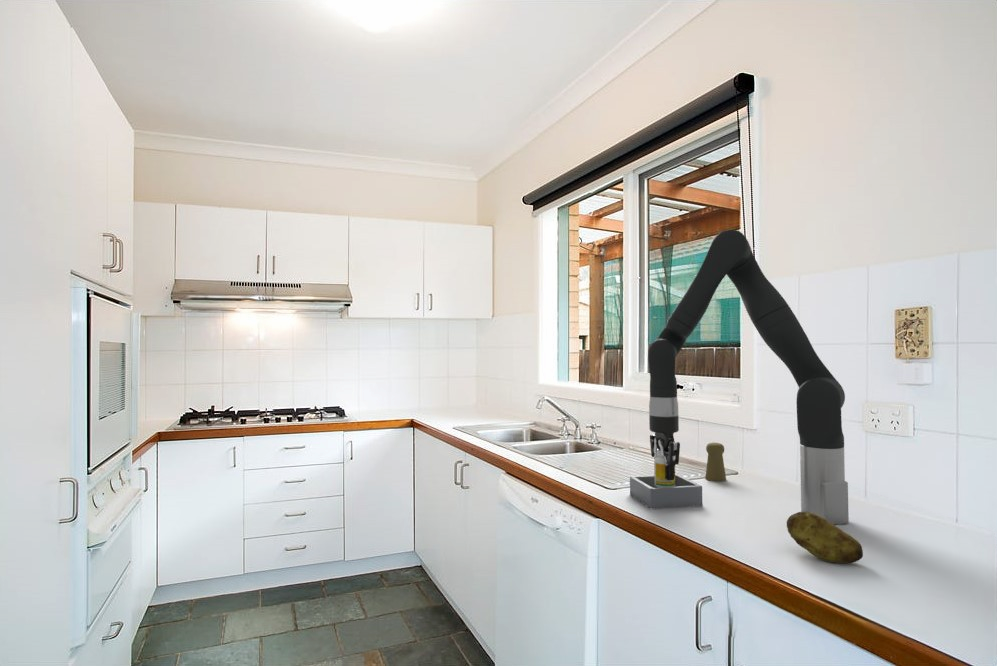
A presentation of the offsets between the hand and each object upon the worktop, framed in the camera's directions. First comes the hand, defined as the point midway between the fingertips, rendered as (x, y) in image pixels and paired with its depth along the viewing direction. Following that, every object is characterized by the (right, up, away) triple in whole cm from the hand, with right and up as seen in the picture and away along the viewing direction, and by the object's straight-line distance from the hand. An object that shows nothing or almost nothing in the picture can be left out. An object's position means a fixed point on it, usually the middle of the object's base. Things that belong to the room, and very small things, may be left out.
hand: (664, 476), depth 159 cm
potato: (+19, -6, -43) cm, 47 cm away
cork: (+22, -6, +23) cm, 32 cm away
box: (0, -6, 0) cm, 6 cm away
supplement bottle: (0, -3, 0) cm, 3 cm away
